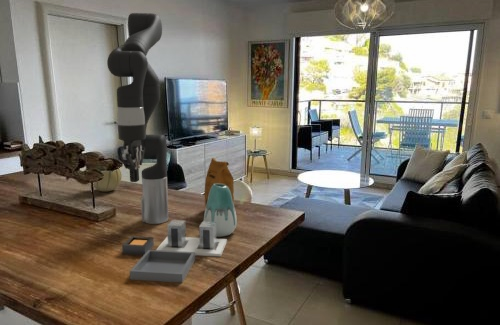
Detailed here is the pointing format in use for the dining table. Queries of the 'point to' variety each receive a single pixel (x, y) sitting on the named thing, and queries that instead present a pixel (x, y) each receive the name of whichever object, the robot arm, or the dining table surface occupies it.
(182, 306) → the dining table surface
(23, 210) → the dining table surface
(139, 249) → the button housing
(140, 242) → the button
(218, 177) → the coffee package
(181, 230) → the block
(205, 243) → the block
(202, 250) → the white slotted plate
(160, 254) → the tray
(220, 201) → the vase
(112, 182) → the cantaloupe
